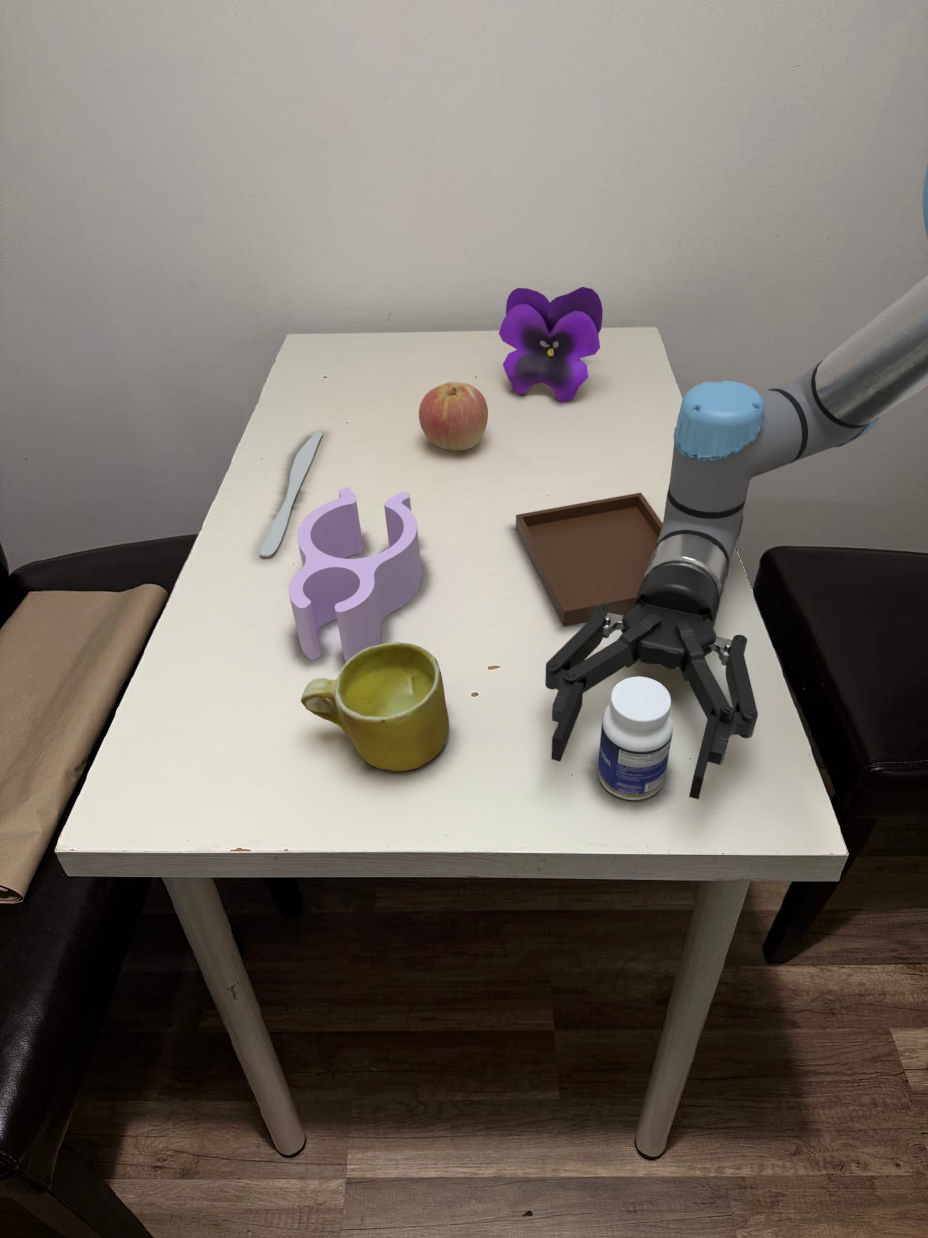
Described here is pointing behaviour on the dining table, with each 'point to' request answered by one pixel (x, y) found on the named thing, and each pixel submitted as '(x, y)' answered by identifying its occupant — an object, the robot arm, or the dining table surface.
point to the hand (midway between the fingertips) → (624, 768)
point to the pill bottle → (635, 739)
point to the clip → (352, 573)
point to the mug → (386, 705)
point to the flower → (551, 339)
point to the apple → (453, 416)
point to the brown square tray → (591, 553)
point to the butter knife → (289, 495)
